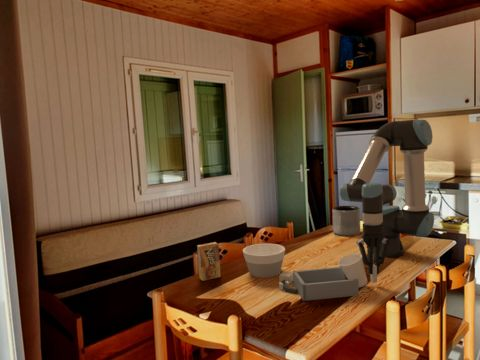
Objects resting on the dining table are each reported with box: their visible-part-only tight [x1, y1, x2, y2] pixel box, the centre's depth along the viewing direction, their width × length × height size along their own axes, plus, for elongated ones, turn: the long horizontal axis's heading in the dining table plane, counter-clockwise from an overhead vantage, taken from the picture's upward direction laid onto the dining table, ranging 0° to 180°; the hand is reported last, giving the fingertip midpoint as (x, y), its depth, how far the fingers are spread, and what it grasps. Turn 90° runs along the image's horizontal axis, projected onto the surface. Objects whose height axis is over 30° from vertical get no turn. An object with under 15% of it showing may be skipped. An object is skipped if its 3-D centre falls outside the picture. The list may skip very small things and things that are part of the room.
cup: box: [337, 252, 368, 289], centre depth 152 cm, size 10×10×11 cm
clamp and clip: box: [278, 271, 293, 291], centre depth 160 cm, size 8×12×3 cm, turn 6°
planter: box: [331, 205, 361, 237], centre depth 234 cm, size 16×16×16 cm
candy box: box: [196, 241, 221, 281], centre depth 171 cm, size 9×4×15 cm, turn 116°
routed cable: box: [281, 280, 298, 294], centre depth 156 cm, size 5×13×1 cm, turn 6°
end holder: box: [292, 266, 360, 302], centre depth 151 cm, size 21×15×6 cm
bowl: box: [242, 243, 286, 279], centre depth 175 cm, size 19×19×11 cm
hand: (373, 281), depth 153 cm, fingers closed
